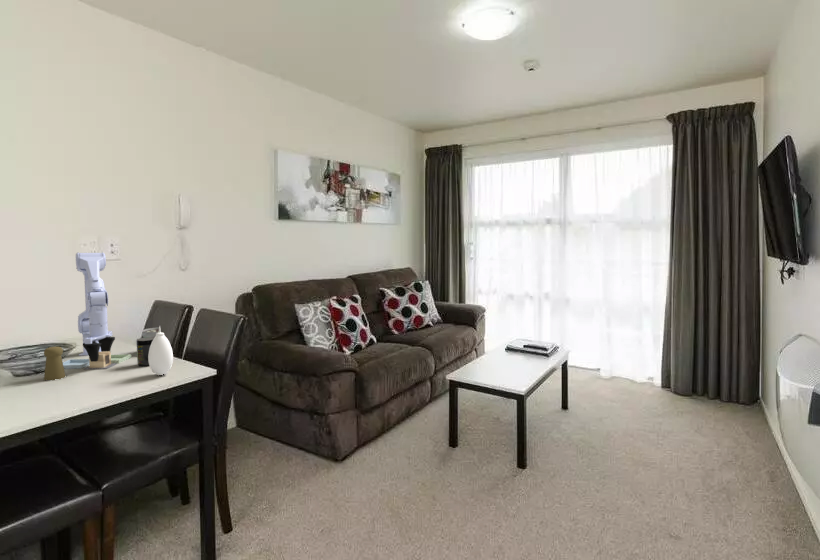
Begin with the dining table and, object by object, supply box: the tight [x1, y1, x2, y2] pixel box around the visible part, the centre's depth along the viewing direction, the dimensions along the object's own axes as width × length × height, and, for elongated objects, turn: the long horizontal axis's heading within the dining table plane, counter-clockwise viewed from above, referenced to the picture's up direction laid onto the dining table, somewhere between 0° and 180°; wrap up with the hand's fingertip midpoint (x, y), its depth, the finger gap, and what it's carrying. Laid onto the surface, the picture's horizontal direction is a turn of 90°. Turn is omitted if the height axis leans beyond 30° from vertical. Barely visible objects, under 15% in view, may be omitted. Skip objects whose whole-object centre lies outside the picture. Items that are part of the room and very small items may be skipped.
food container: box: [141, 327, 159, 338], centre depth 195 cm, size 12×6×10 cm, turn 25°
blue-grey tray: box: [62, 358, 90, 370], centre depth 174 cm, size 10×10×2 cm
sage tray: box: [111, 353, 132, 364], centre depth 181 cm, size 10×10×2 cm
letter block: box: [88, 350, 112, 368], centre depth 171 cm, size 5×5×5 cm
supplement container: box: [135, 337, 155, 368], centre depth 175 cm, size 7×7×10 cm
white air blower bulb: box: [148, 325, 174, 376], centre depth 162 cm, size 8×8×18 cm
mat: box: [83, 363, 118, 371], centre depth 172 cm, size 7×8×1 cm
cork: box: [43, 346, 66, 381], centre depth 158 cm, size 6×6×11 cm
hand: (100, 358), depth 171 cm, fingers open, 7 cm apart
